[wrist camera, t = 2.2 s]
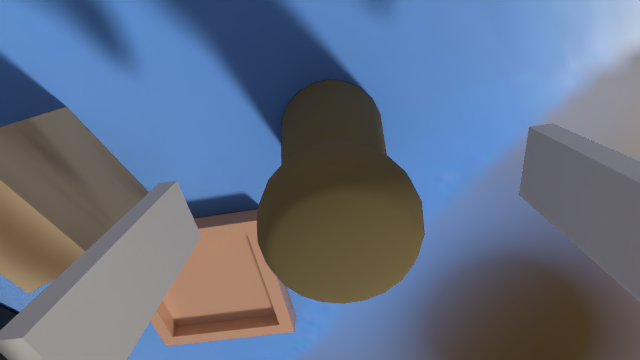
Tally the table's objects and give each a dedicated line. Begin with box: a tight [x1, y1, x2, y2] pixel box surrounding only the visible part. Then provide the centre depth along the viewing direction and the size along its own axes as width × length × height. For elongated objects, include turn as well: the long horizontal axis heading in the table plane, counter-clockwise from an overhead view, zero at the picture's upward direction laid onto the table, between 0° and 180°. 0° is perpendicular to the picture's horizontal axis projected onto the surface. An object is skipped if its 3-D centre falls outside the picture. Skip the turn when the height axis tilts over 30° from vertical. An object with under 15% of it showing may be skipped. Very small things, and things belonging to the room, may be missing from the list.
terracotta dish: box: [150, 209, 296, 346], centre depth 23 cm, size 11×11×1 cm
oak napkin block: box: [0, 107, 149, 294], centre depth 17 cm, size 5×7×6 cm
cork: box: [257, 80, 425, 303], centre depth 13 cm, size 6×6×11 cm
